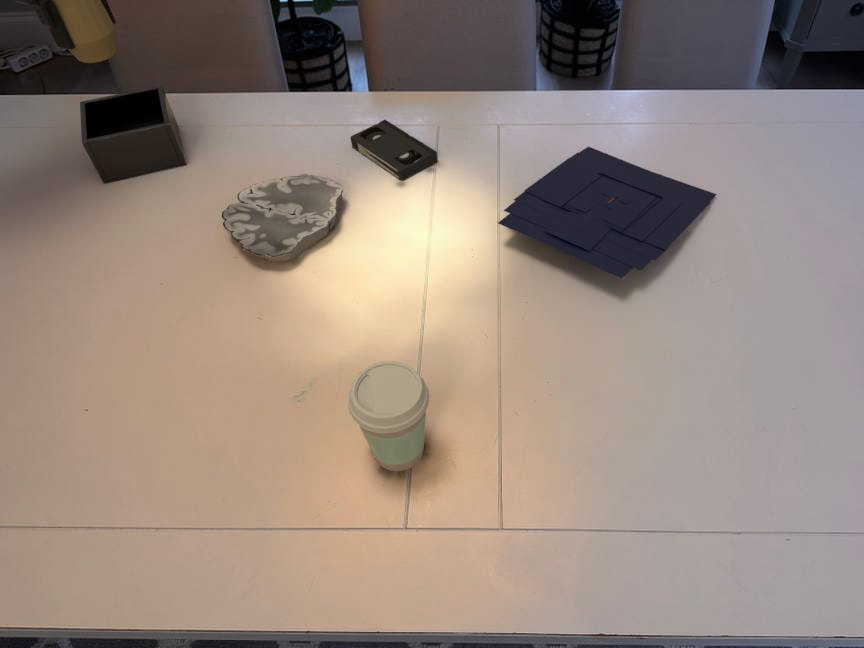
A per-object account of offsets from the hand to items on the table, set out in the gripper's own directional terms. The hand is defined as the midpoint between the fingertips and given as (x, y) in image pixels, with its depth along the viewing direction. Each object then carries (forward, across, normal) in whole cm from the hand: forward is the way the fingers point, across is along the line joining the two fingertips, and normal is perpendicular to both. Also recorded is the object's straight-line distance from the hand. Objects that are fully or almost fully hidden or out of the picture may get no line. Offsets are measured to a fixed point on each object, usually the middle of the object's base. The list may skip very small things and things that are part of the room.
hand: (87, 34), depth 102 cm
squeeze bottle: (+3, 0, 0) cm, 3 cm away
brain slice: (+21, -8, -34) cm, 41 cm away
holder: (+21, 0, 0) cm, 21 cm away
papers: (+21, +13, -80) cm, 84 cm away
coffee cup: (+21, -37, -70) cm, 82 cm away
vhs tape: (+21, +16, -41) cm, 49 cm away
